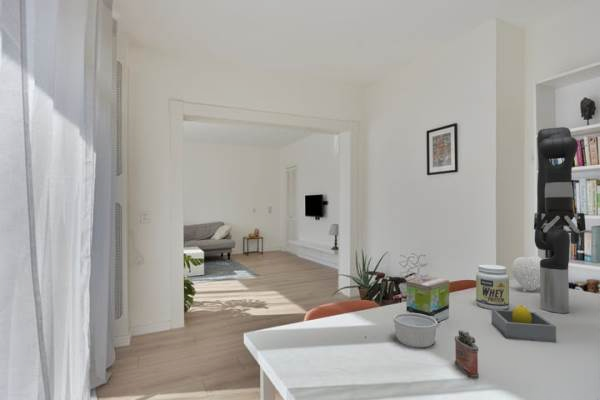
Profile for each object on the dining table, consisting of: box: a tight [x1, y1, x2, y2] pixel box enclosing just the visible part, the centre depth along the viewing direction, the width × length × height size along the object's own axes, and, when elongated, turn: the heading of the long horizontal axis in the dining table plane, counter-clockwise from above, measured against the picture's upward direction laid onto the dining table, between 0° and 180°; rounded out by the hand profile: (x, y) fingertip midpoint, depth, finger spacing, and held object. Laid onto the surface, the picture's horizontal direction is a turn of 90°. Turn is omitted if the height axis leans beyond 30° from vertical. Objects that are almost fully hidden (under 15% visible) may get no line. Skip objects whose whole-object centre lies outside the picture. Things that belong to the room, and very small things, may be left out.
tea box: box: [405, 276, 450, 323], centre depth 125 cm, size 15×10×15 cm, turn 131°
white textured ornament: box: [511, 255, 543, 293], centre depth 164 cm, size 18×11×17 cm, turn 108°
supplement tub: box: [475, 264, 510, 310], centre depth 140 cm, size 12×12×17 cm
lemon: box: [512, 305, 532, 324], centre depth 112 cm, size 6×6×8 cm
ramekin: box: [393, 312, 438, 349], centre depth 105 cm, size 13×13×7 cm
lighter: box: [454, 329, 480, 379], centre depth 86 cm, size 8×3×10 cm, turn 5°
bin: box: [491, 309, 557, 343], centre depth 112 cm, size 14×14×5 cm
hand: (559, 243), depth 112 cm, fingers open, 8 cm apart
